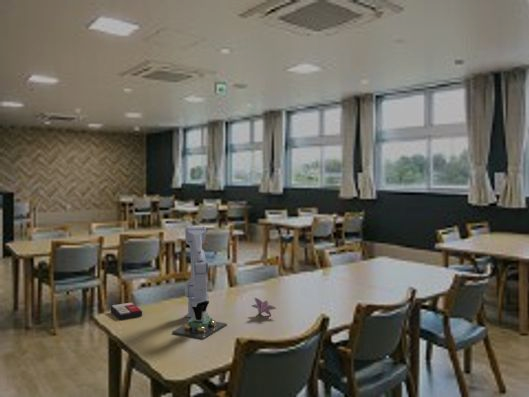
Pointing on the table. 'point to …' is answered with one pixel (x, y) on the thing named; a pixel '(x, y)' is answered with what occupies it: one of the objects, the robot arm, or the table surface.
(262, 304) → the lily
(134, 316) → the grey and red box
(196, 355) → the table surface
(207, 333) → the chassis
